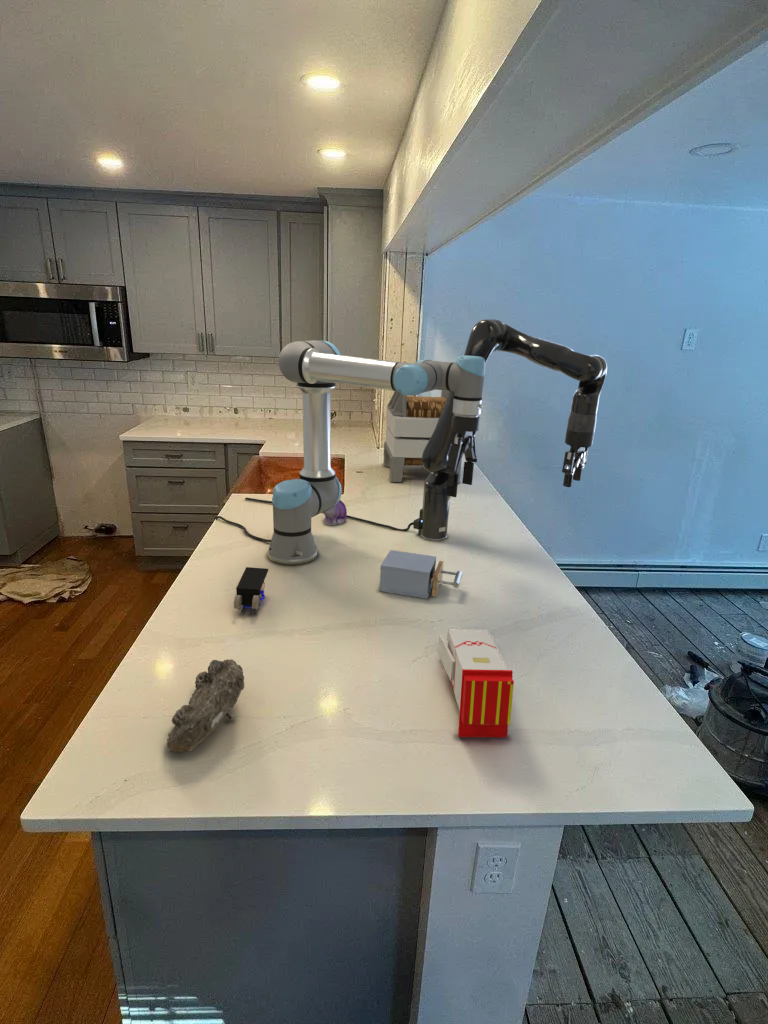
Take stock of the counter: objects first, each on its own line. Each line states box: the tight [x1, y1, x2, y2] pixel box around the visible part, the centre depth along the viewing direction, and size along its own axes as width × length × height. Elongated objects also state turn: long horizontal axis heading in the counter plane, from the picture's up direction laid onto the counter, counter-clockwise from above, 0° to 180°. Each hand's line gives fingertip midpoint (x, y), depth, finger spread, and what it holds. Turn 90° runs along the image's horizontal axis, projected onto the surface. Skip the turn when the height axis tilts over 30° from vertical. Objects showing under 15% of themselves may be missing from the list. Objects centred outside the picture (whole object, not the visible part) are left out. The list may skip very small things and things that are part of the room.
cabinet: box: [379, 549, 437, 599], centre depth 161 cm, size 14×11×8 cm
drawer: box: [428, 560, 463, 597], centre depth 160 cm, size 18×10×6 cm, turn 75°
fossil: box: [166, 658, 245, 754], centre depth 106 cm, size 22×10×15 cm
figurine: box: [323, 499, 348, 526], centre depth 206 cm, size 9×10×15 cm
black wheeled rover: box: [233, 566, 269, 615], centre depth 148 cm, size 7×8×15 cm
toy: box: [437, 628, 515, 738], centre depth 117 cm, size 12×13×30 cm
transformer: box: [383, 390, 463, 484], centre depth 268 cm, size 34×33×41 cm
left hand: (459, 490), depth 160 cm, fingers open, 13 cm apart
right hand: (571, 483), depth 165 cm, fingers open, 8 cm apart
